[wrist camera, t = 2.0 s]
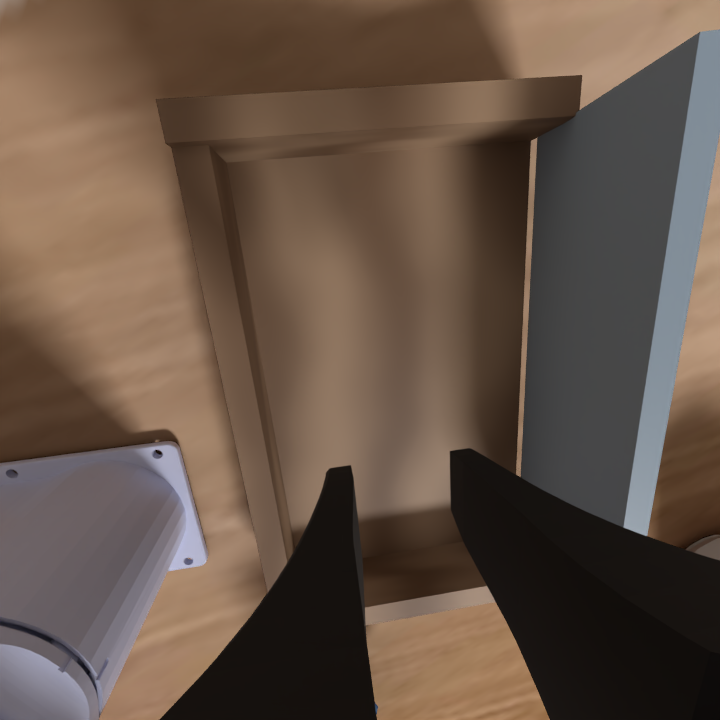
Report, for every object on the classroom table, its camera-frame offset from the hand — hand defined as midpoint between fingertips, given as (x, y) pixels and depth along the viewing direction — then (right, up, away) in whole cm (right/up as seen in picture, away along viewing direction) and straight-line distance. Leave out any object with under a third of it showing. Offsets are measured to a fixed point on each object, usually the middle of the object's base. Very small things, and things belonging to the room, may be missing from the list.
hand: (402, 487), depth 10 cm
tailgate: (+7, +3, +8) cm, 11 cm away
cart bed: (0, +3, +9) cm, 9 cm away
